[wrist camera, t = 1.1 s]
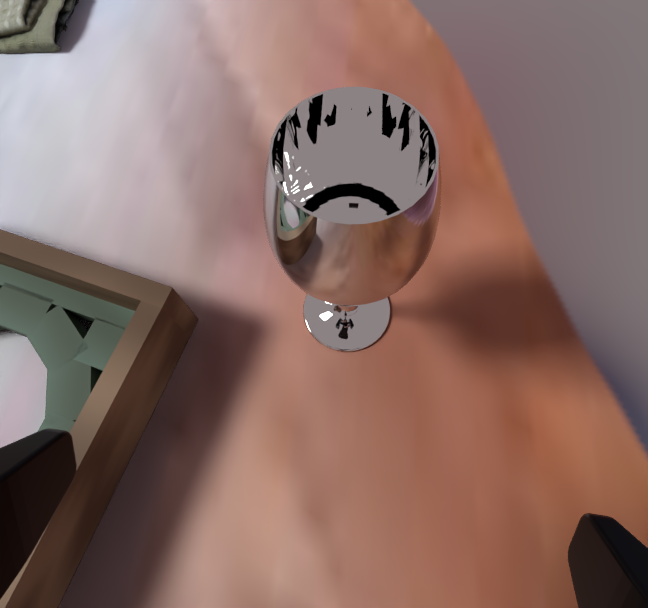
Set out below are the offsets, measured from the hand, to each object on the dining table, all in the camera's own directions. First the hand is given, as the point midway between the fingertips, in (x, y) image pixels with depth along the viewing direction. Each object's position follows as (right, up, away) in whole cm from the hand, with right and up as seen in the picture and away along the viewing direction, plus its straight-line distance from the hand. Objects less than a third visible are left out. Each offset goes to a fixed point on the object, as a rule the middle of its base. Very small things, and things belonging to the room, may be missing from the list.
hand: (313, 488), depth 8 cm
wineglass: (+1, +3, +16) cm, 16 cm away
